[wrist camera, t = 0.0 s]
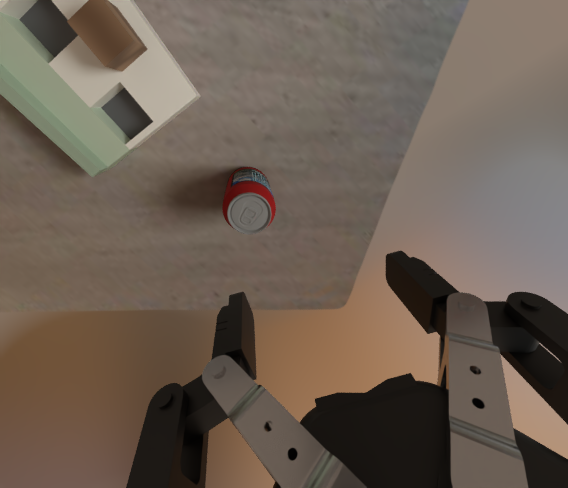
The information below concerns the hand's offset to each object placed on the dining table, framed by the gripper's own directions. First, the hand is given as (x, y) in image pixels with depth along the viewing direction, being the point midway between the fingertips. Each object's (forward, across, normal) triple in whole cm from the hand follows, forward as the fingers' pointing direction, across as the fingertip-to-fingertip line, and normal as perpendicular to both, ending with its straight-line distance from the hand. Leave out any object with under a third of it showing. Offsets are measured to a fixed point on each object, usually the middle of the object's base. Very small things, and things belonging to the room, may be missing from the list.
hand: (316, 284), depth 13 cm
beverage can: (+30, +4, +2) cm, 30 cm away
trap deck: (+29, +17, -16) cm, 38 cm away
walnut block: (+26, +13, -18) cm, 34 cm away
